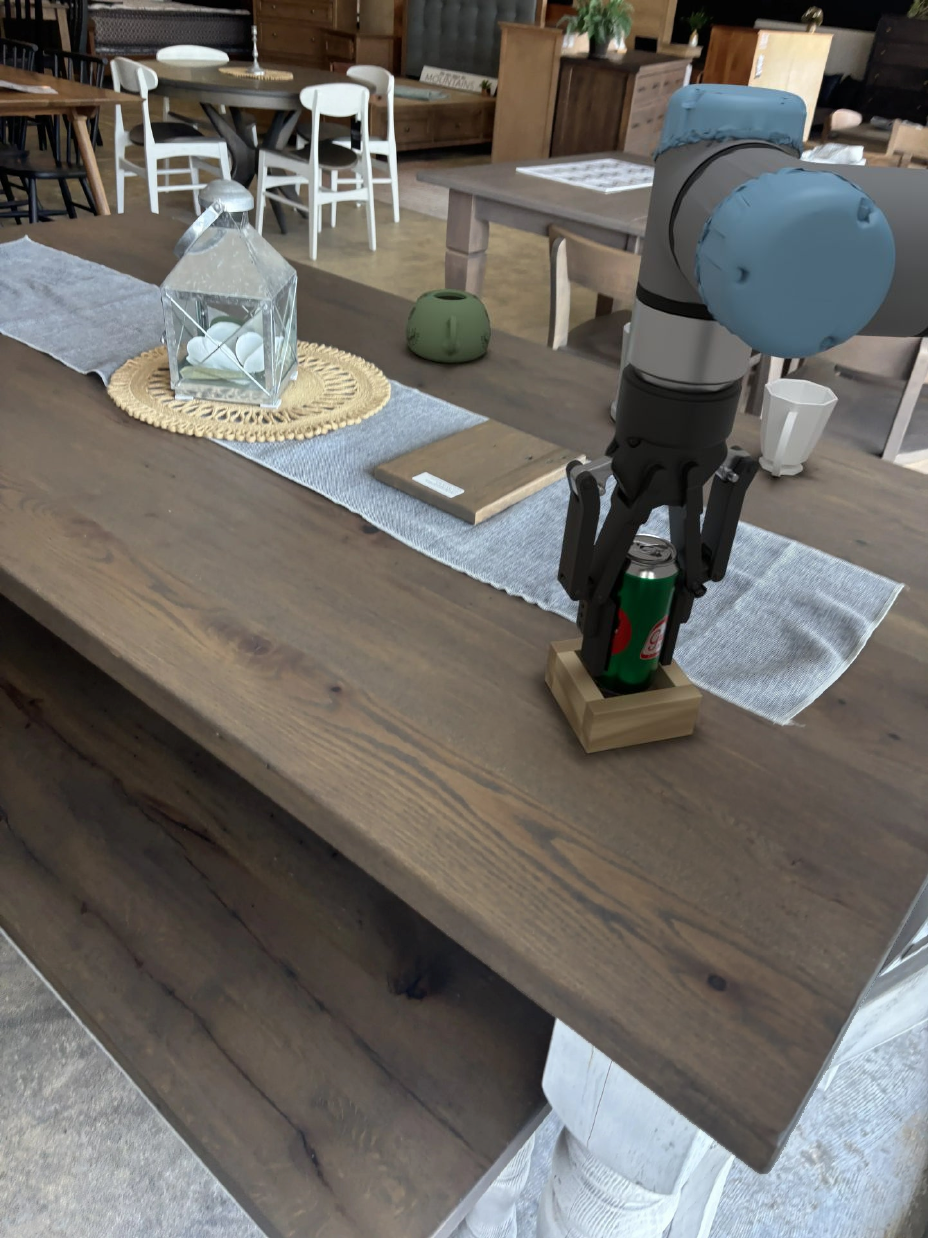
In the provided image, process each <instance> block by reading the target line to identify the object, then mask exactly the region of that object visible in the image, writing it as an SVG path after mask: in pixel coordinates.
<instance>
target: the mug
mask: <svg viewBox="0 0 928 1238" xmlns="http://www.w3.org/2000/svg"><path fill="white" fill-rule="evenodd" d="M491 330H492V329H491V322H490V317H489V314H488V310H487V309H486V307H485V304H484V303H483V301H481V299H480V298H479V297H478V296H477V295H476V294H474V293H471V292H468V291H465V290H461V289H456V288H441V289H440V288H439V289H434V290H428V291H426V292H424V293H422V294H421V295H420V296H419V297H418V298H417V299H416V301H415V303H414V305H413V306H412V308H411V311H410V312H409V315H408V318H407V323H406V328H405V335H406V340H407V346H408V348H410V351H412V352H413V353H415V354H416V355H417V356H418V357H421V358H422V359H424V360H428V361H431V362H435V363H445V364H457V363H466V362H471V361H474V360H476V359H478V358H479V357H482V356H483V355H484V354H485V353H487V351H488V348H489V343H490V340H491V336H492V331H491Z"/></svg>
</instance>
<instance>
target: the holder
mask: <svg viewBox="0 0 928 1238" xmlns="http://www.w3.org/2000/svg"><path fill="white" fill-rule="evenodd" d="M582 641H583V637H575V638H570V639H563V640H556V641H555V640H554V641H550V642H549V647H548V652H547V653H548V654H547V662H546V667H545V676H544V681H545V683H546V685H547V686H548V688H549V690H550V691H551V693H552V695H553V697H554V699H555V700H556V702H557V704H558V705H559V707H560V709H561V711H562V712H563V714H564V716H565V718H566V720H567V722H568V723H569V725H570V727H571V729H572V730H573V732H574V733H575V735H576V737H577V739H578V740H579V742H580V744H581V745H582V747H583V749H584V751H585V753H586V754H591V753H592V754H593V753H597V752H602V751H607V750H608V751H609V750H613V749H619V748H620V749H621V748H625V747H630V746H635V745H641V744H646V743H651V742H653V743H654V742H658V741H663V740H669V739H674V738H679V737H685V736H692V735H693V734H694V729H695V725H696V722H697V718H698V714H699V711H700V707H701V704H702V699H703V695H702V693H701V692H700V691H699V690H698V688H697V687H696V686H695V684H694V683H693V682H692V680H691V679H690V678H689V676H688V675H687V674H686V672H685V671H684V670H683V669H682V667H681V666H680V665H679V664H678V662H677V660H675V658H674V657H673V658H672V662H671V665H666V666H662V665H661V664H660V663H659V664H658V668H657V672H656V677H655V681H654V683H653V685H652V686H651V687H650V688H648V689H647V690H645V691H643V692H641V693H635V694H629V695H617V696H613V697H606V698H605V697H604V695H603V694H602V692H601V691H600V690H599V688H598V686H597V685H599V683H598V682H597V681H596V680H595V679H594V677H593V675H592V673H591V672H590V670H589V668H588V667H587V665H586V664H585V662H584V661H583V659H582V658H581V656H580V653H581V647H582Z"/></svg>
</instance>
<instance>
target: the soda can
mask: <svg viewBox="0 0 928 1238" xmlns="http://www.w3.org/2000/svg"><path fill="white" fill-rule="evenodd" d="M677 557H678V551H677V549H676V547H675V546H674V545H673V544H672V543H671V542H670V540H668V539H666V538H663V537H661V536H658V535H655V534H649V533H637V534H636V536H635V538H634V541H633V543H632V545H631V547H630V550H629V552H628V554H627V556H626V558H625V561H624V563H623V565H622V567H621V570H620V572H619V574H618V576H617V579H616V581H615V583H614V585H613V587H612V590H611V592H610V594H609V597H610V598H611V599H612V601H613V602H614V603H615V605H616V608H615V613H614V619H613V624H612V629H611V635H610V640H609V646H608V651H607V656H606V662H605V667H604V673H603V676H596V677H594V676H593V677H594V679H595V680H596V681H597V682H598V685H599V686H600V687H602V688H603V689H604V690H606V691H608V692H609V693H613V694H616V695H619V696H623V695H629V694H635V693H641V692H643V691H645V690H647V689H648V688H650V687H651V686H652V685H653V683H654V681H655V677H656V672H657V668H658V664H659V659H660V655H661V651H662V646H663V642H664V637H665V633H666V629H667V624H668V620H669V616H670V611H671V607H672V603H673V598H674V594H675V589H676V585H677V581H678V576H679V572H680V563H679V560H678V558H677Z"/></svg>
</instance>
